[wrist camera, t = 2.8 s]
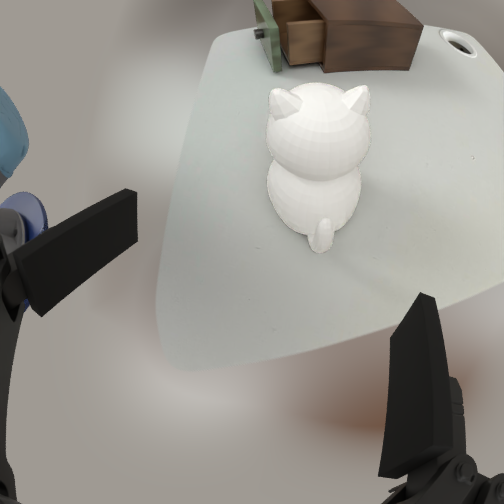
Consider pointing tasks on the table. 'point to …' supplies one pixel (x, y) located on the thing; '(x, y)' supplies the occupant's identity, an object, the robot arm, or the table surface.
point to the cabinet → (367, 35)
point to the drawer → (290, 32)
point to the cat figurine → (317, 157)
